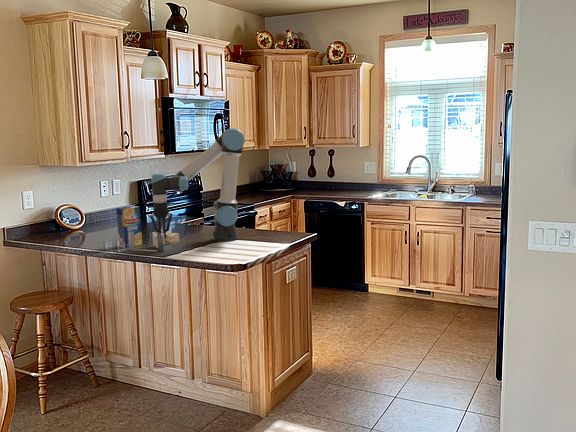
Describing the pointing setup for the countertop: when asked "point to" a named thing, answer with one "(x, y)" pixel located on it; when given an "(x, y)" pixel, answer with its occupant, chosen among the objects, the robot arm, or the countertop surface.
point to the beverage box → (129, 225)
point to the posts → (160, 244)
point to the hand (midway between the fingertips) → (162, 244)
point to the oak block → (171, 238)
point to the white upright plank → (155, 239)
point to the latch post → (131, 241)
